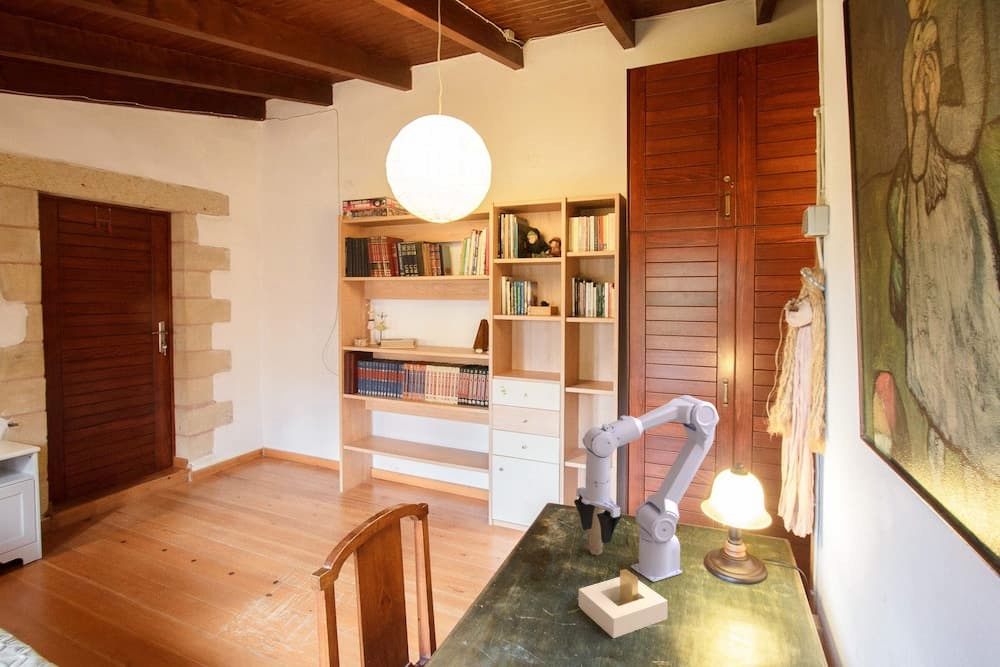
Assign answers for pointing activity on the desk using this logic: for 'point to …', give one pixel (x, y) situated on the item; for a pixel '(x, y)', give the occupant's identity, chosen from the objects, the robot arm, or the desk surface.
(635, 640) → the desk surface
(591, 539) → the handle
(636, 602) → the well block
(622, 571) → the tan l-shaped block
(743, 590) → the desk surface
